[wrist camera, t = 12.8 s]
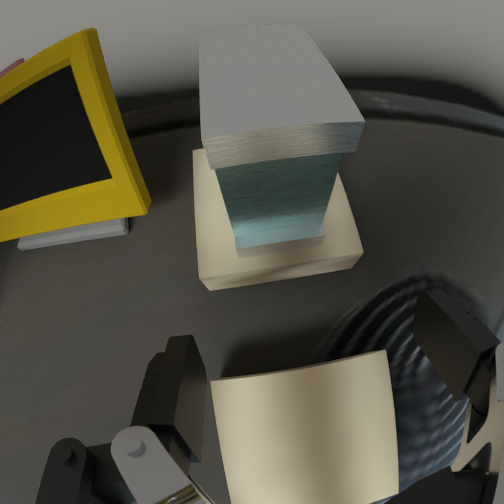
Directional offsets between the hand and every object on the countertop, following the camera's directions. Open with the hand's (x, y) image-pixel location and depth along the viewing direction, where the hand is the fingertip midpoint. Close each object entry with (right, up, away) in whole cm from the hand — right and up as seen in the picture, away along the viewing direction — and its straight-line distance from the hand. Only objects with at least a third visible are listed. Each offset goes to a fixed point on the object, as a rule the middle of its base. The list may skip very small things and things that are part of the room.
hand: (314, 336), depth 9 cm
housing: (-1, +6, +9) cm, 11 cm away
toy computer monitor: (-19, +7, +14) cm, 25 cm away
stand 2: (+1, -9, +6) cm, 11 cm away
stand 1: (-1, +6, +12) cm, 13 cm away
